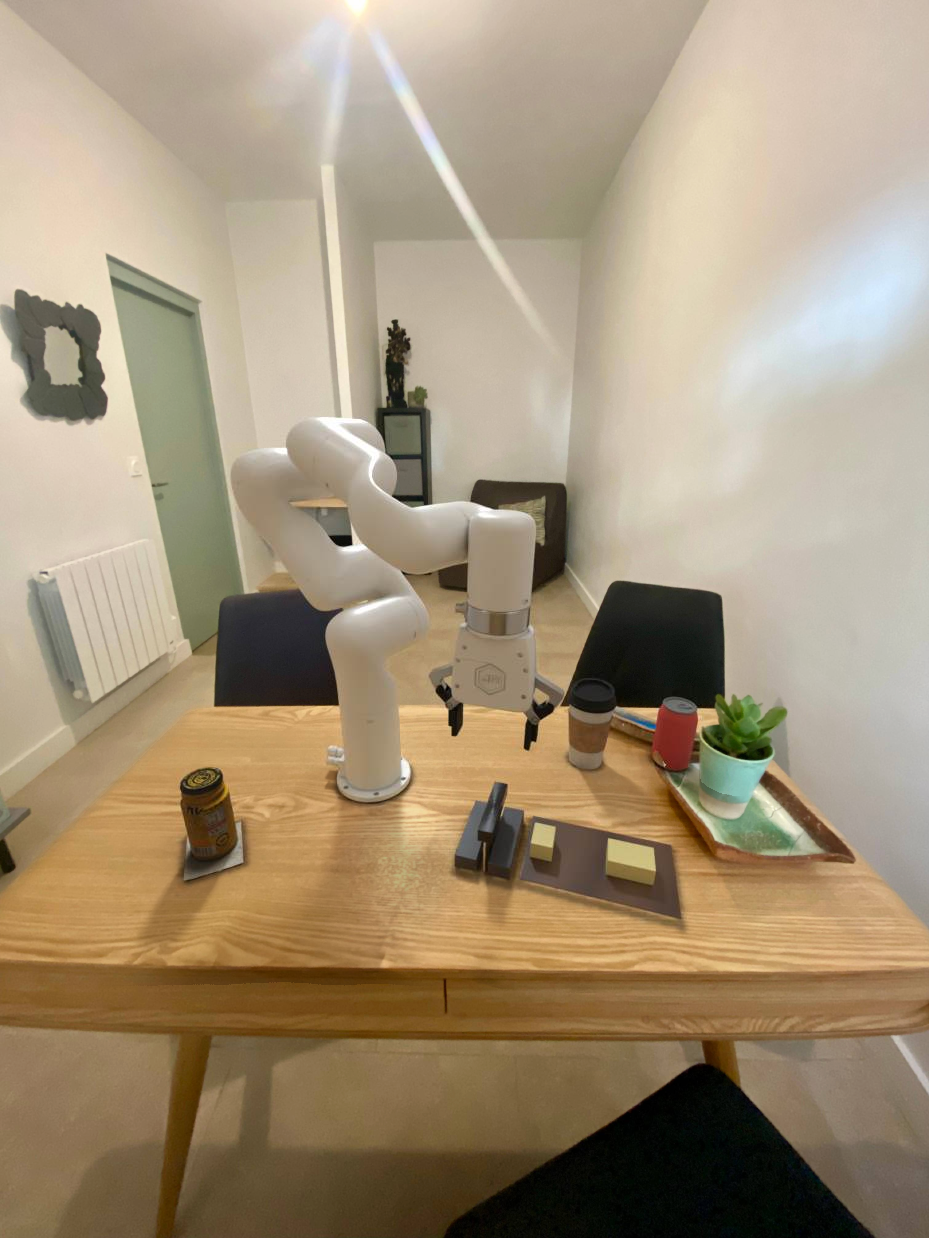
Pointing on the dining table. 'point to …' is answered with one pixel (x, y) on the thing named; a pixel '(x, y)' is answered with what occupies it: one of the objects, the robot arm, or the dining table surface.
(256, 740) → the dining table surface
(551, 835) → the butter slice
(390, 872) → the dining table surface
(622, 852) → the butter
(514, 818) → the stand
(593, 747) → the coffee cup
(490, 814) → the cleaver
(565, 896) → the dining table surface
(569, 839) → the board
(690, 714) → the beer can
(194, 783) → the condiment
